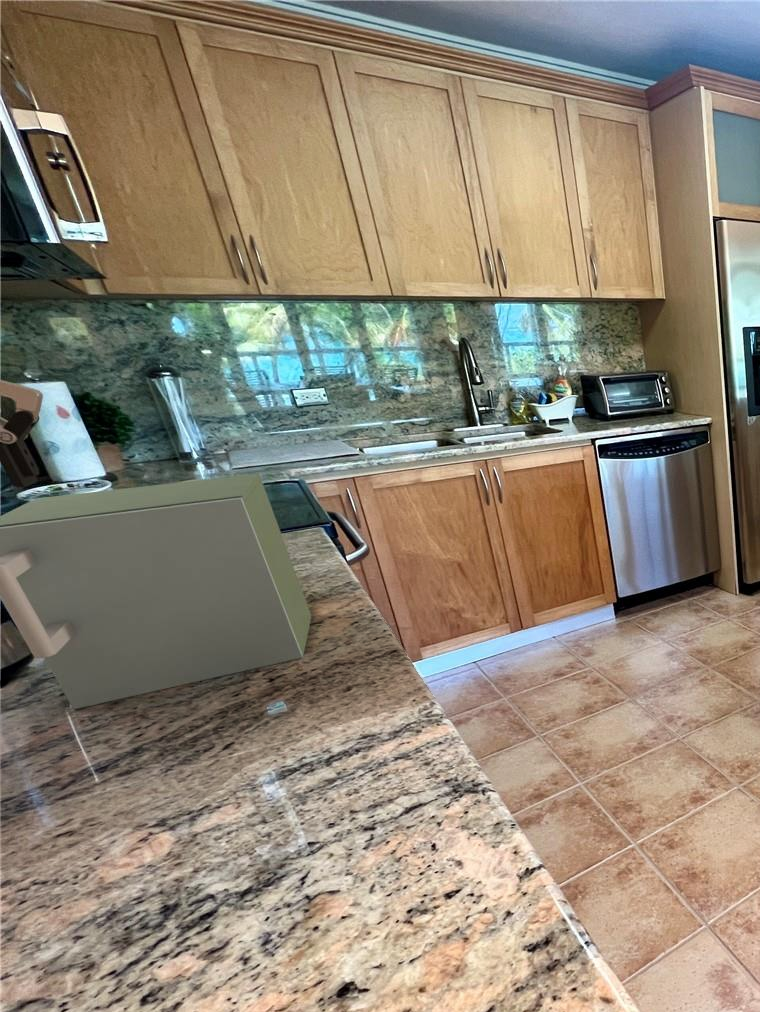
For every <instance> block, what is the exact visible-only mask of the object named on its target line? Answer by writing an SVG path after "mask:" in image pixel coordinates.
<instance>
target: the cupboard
mask: <svg viewBox="0 0 760 1012" xmlns="http://www.w3.org/2000/svg"><path fill="white" fill-rule="evenodd" d="M206 479H207V480H198V481H189V482H182V481H179V482H180V483H178V482H171V483H164V484H163V483H162V484H154V485H145V486H136V487H125V488H117V489H108V490H107V489H106V490H100V491H99V490H98V491H92V492H91V491H90V492H81V493H71V494H63V495H55V496H46V497H45V496H44V497H37V498H34V499H32V500H30V501H28V502H26V503H24V504H22V505H20V506H18V507H16V508H14V509H12V510H10V511H8V512H5V513H4V514H2V515H0V527H7V526H15V525H23V524H31V523H39V522H47V521H55V520H63V519H71V518H79V517H87V516H95V515H103V514H112V513H120V512H128V511H136V510H144V509H152V508H160V507H168V506H176V505H184V504H192V503H200V502H209V501H217V500H225V499H233V498H241V497H242V499H243V501H244V504H245V506H246V509H247V512H248V514H249V517H250V519H251V522H252V525H253V527H254V530H255V532H256V535H257V537H258V540H259V543H260V545H261V548H262V550H263V553H264V556H265V558H266V561H267V563H268V566H269V569H270V571H271V574H272V576H273V579H274V581H275V584H276V587H277V589H278V592H279V594H280V597H281V600H282V602H283V605H284V607H285V610H286V613H287V615H288V618H289V620H290V623H291V626H292V628H293V631H294V633H295V636H296V638H297V641H298V644H299V646H300V649H301V651H302V654H303V656H304V654H305V650H306V646H307V645H306V644H307V640H308V636H309V631H310V625H311V621H312V613H311V610H310V608H309V605H308V603H307V599H306V597H305V594H304V591H303V589H302V586H301V583H300V581H299V578H298V574H297V572H296V570H295V567H294V564H293V562H292V558H291V556H290V553H289V551H288V548H287V546H286V542H285V539H284V537H283V535H282V532H281V529H280V527H279V524H278V521H277V519H276V516H275V513H274V510H273V507H272V505H271V502H270V500H269V497H268V494H267V491H266V489H265V486H264V483H263V481H262V477H261V475H260V473H251V474H243V475H235V476H234V475H233V476H226V477H225V476H224V477H218V478H206Z"/></svg>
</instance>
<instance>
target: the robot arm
mask: <svg viewBox="0 0 760 1012" xmlns="http://www.w3.org/2000/svg"><path fill="white" fill-rule="evenodd" d="M0 396H1V397H5V398H9V399H11V400H13V401H14V402H15V411H14V413H13V414H12V415H11V417H10V418H9V419H5V418H4V417H1V416H0V465H1V466H2V468H3V470H4V472H5V474H6V476H7V478H8V479H9V481H10V483H11V485H12V486H13V487H16V488H25V487H26V488H27V487H29V486H31V485H33V484H36V483H38V478H37V476H39V475H40V470H39V467H38V465H37V463H36V461H35V459H34V457H33V455H32V454H31V452H30V450H29V448H28V446H27V444H26V442H25V440H26V439H27V438H28V436H29V433H30V432H31V431H32V429H34V427H35V426H36V425H37V423H38V422H39V420H40V413H41V409H42V404H43V399H44V394H43V393H42V392H41V391H40V390H39V389H36V388H32V387H29V386H26V385H21V384H18V383H14V382H10V381H7V380H3V379H0ZM1 411H2V410H1V408H0V413H2V412H1Z"/></svg>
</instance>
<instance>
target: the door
mask: <svg viewBox="0 0 760 1012" xmlns="http://www.w3.org/2000/svg"><path fill="white" fill-rule="evenodd" d="M0 600H1V602H2V604H3V605H4V608H5V609H6V611H7V612H8V614H9V616H10V618H11V619H12V621H13V623H14V624H15V626H16V628H17V630H18V632H19V633H20V635H21V636H22V638H23V640H24V642H25V643H26V645H27V647H28V648H29V650H30V652H31V654H32V655H33V657H34V658H35V659H38V660H39V659H40V660H41V659H44V660H45V662H46V664H47V666H48V668H49V669H50V671H51V673H52V674H53V676H54V678H55V680H56V682H57V683H58V685H59V687H60V688H61V690H62V692H63V694H64V695H65V697H66V699H67V700H68V702H69V705H70V706H71V708H72V710H78V709H82V708H87V707H91V706H96V705H100V704H104V703H109V702H113V701H117V700H122V699H127V698H130V697H135V696H139V695H144V694H150V693H154V692H159V691H161V690H166V689H170V688H176V687H179V686H184V685H188V684H193V683H197V682H202V681H206V680H211V679H215V678H219V677H224V676H228V675H232V674H237V673H241V672H245V671H246V672H247V671H250V670H254V669H260V668H263V667H269V666H271V665H272V666H273V665H277V664H281V663H285V662H289V661H295V660H297V659H298V660H300V659H303V657H304V655H303V654H302V651H301V649H300V646H299V644H298V641H297V638H296V636H295V633H294V631H293V628H292V626H291V623H290V620H289V618H288V615H287V613H286V610H285V607H284V605H283V602H282V600H281V597H280V594H279V592H278V589H277V587H276V584H275V581H274V579H273V576H272V574H271V571H270V569H269V566H268V563H267V561H266V558H265V556H264V553H263V550H262V548H261V545H260V543H259V540H258V537H257V535H256V532H255V530H254V527H253V525H252V522H251V519H250V517H249V514H248V512H247V509H246V506H245V504H244V501H243V499H242V497H241V498H233V499H225V500H217V501H209V502H200V503H192V504H184V505H176V506H168V507H160V508H152V509H144V510H136V511H128V512H120V513H112V514H103V515H95V516H87V517H79V518H71V519H63V520H55V521H47V522H39V523H31V524H23V525H15V526H7V527H0Z"/></svg>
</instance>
